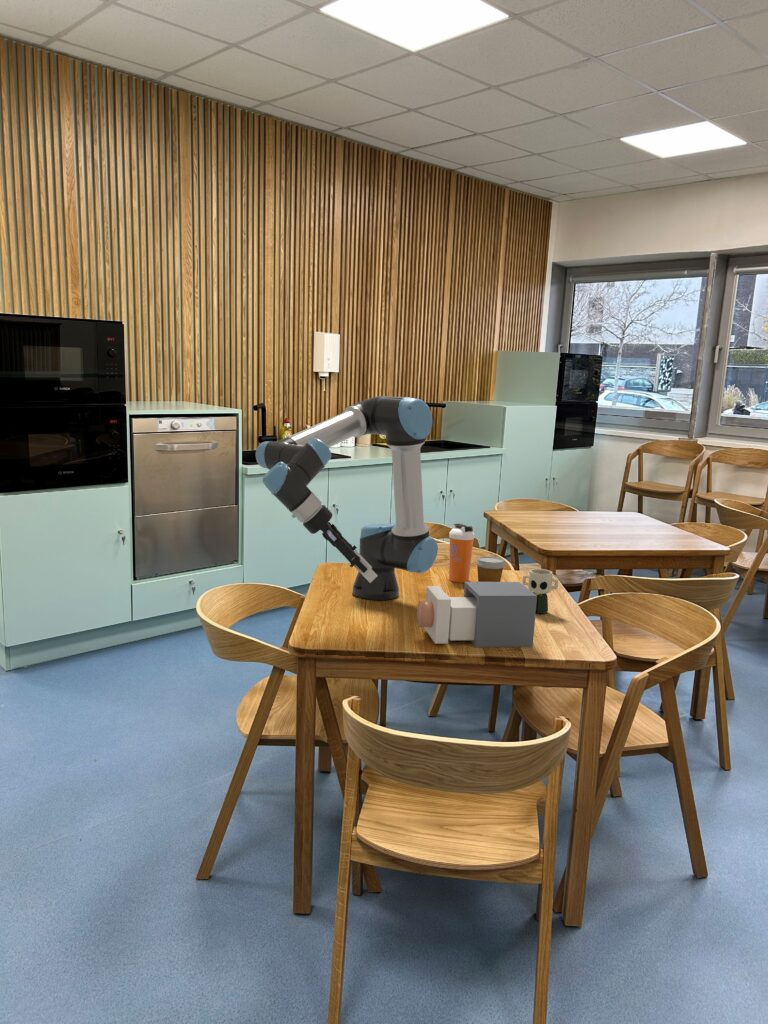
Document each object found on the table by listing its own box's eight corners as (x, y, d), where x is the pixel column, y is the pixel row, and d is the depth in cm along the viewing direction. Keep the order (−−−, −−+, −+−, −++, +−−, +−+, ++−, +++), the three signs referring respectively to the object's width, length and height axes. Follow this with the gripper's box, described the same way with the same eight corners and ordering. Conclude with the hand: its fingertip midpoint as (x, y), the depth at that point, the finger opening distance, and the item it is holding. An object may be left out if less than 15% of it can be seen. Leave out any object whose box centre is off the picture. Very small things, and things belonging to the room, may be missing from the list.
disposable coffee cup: (501, 591, 257) (504, 557, 255) (503, 599, 248) (506, 563, 246) (473, 589, 258) (476, 555, 256) (474, 597, 248) (476, 561, 246)
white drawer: (423, 643, 198) (426, 599, 196) (413, 627, 210) (416, 586, 208) (500, 642, 202) (503, 599, 200) (485, 627, 214) (488, 586, 212)
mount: (475, 647, 200) (479, 595, 198) (461, 630, 214) (464, 581, 211) (532, 646, 203) (537, 595, 200) (514, 629, 216) (518, 581, 214)
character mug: (518, 612, 234) (521, 571, 232) (522, 606, 241) (525, 566, 238) (553, 617, 230) (557, 576, 228) (556, 611, 237) (560, 571, 235)
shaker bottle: (457, 575, 275) (460, 522, 272) (476, 581, 269) (480, 526, 266) (441, 579, 269) (444, 524, 266) (460, 584, 263) (464, 528, 259)
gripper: (299, 516, 204) (355, 574, 209) (304, 531, 183) (366, 595, 189) (319, 497, 204) (375, 555, 209) (327, 510, 183) (388, 575, 189)
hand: (370, 574), depth 199 cm, fingers open, 8 cm apart
